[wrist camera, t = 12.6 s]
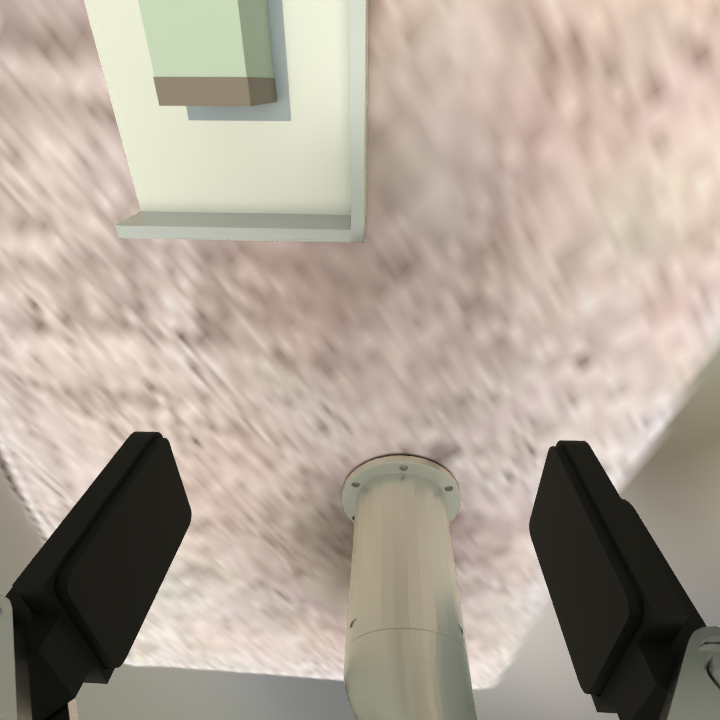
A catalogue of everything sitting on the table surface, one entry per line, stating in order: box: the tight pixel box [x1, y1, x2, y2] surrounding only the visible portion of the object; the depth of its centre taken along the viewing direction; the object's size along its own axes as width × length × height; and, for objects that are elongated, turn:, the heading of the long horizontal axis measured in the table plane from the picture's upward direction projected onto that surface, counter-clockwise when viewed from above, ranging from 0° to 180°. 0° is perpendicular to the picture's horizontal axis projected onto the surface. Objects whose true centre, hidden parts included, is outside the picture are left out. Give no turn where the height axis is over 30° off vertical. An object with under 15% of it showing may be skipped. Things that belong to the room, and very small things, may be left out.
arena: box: [84, 0, 369, 243], centre depth 23 cm, size 22×16×4 cm
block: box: [138, 0, 277, 106], centre depth 22 cm, size 5×7×6 cm, turn 0°
